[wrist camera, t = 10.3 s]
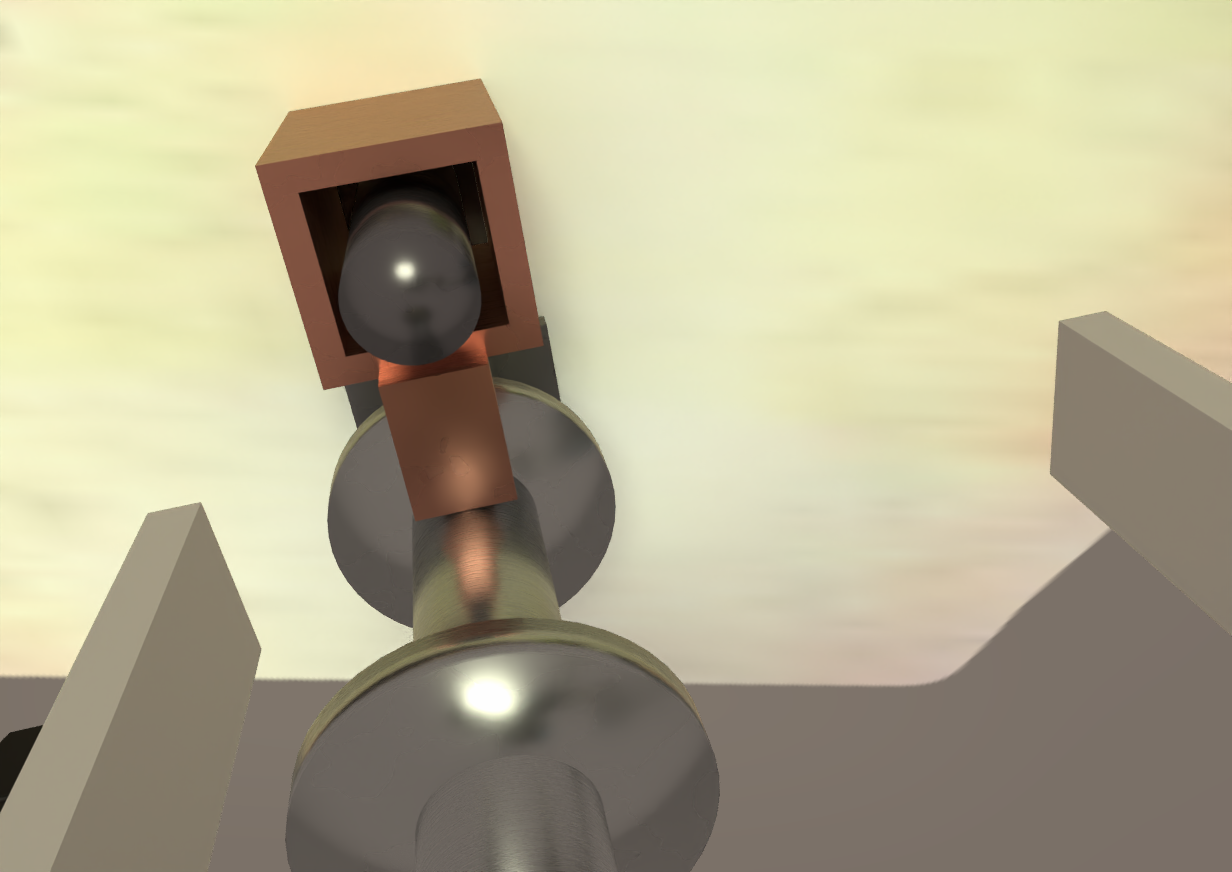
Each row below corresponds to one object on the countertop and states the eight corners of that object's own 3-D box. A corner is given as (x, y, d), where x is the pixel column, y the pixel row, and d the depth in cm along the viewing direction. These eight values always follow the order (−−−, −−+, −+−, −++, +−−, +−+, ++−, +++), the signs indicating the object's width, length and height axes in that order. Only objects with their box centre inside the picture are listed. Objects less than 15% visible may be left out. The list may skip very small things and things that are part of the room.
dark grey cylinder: (447, 130, 40) (465, 219, 28) (467, 227, 42) (493, 350, 30) (347, 148, 40) (321, 246, 28) (372, 245, 42) (358, 377, 29)
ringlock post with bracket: (524, 71, 40) (735, 329, 14) (598, 501, 49) (803, 1115, 24) (243, 119, 39) (-69, 492, 13) (374, 550, 48) (340, 1247, 23)
